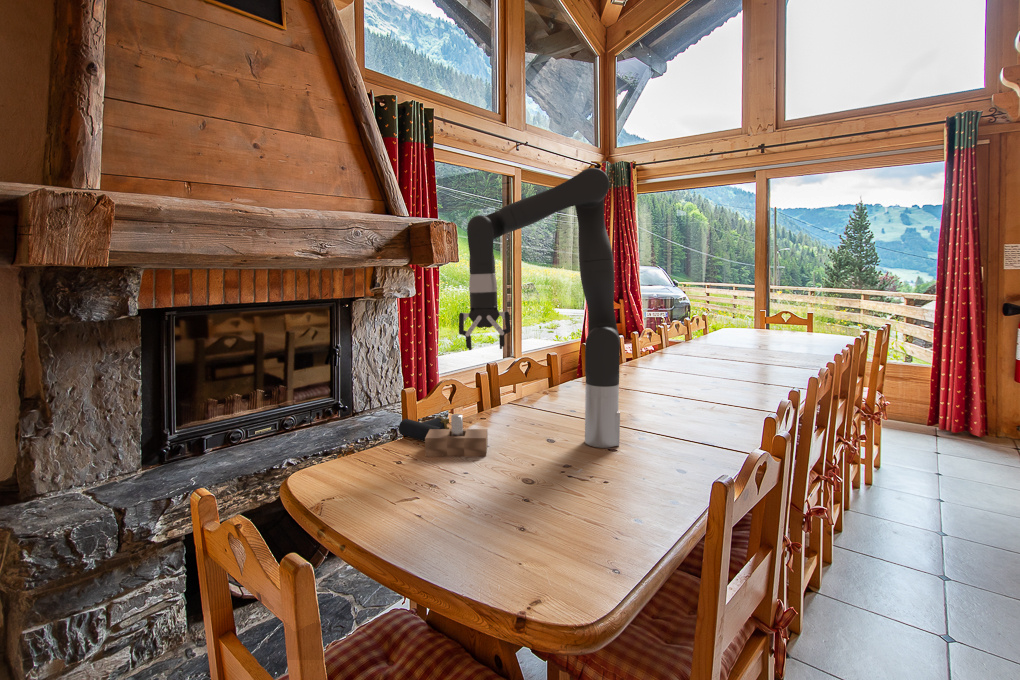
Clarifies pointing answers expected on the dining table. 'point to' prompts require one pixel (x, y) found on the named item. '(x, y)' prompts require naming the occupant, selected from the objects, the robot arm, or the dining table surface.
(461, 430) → the pin
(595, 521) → the dining table surface
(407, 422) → the pipe connector
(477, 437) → the socket block
